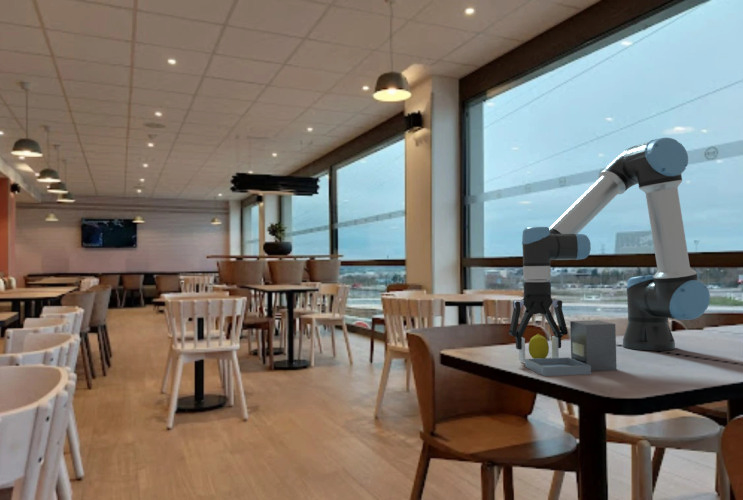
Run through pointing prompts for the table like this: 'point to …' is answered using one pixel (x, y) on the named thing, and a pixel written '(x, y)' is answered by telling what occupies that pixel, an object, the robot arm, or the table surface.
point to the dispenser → (594, 344)
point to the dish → (557, 366)
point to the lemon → (538, 347)
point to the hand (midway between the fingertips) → (538, 360)
